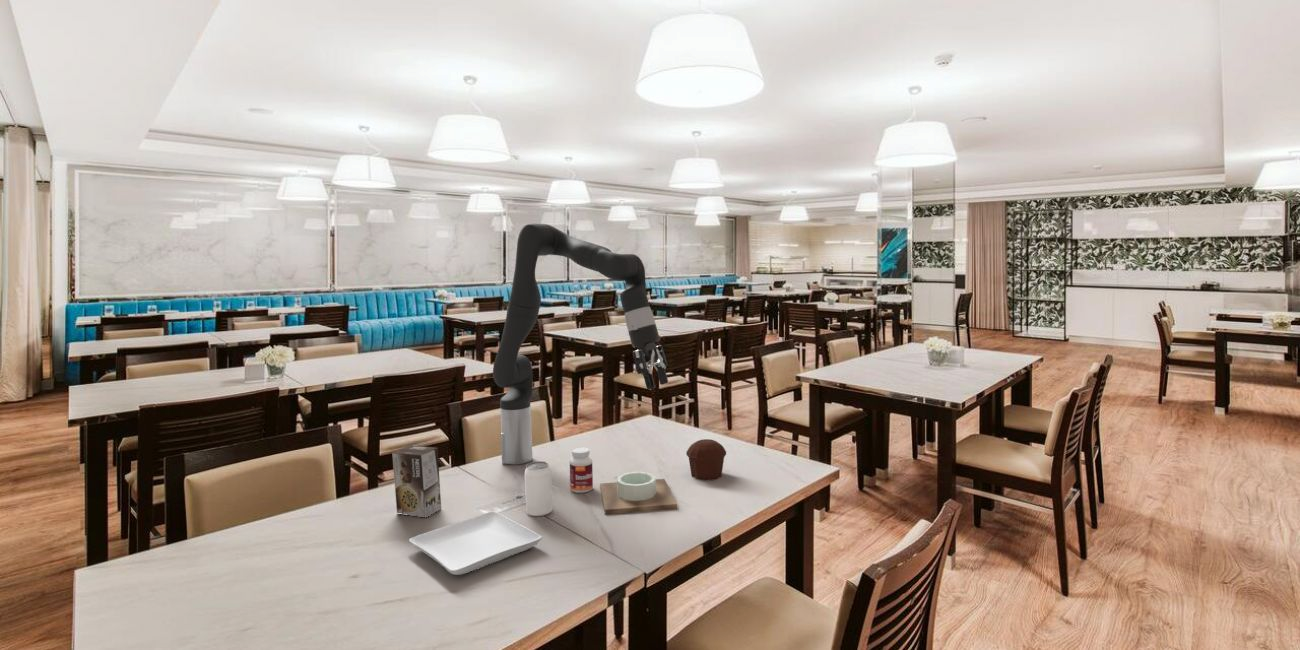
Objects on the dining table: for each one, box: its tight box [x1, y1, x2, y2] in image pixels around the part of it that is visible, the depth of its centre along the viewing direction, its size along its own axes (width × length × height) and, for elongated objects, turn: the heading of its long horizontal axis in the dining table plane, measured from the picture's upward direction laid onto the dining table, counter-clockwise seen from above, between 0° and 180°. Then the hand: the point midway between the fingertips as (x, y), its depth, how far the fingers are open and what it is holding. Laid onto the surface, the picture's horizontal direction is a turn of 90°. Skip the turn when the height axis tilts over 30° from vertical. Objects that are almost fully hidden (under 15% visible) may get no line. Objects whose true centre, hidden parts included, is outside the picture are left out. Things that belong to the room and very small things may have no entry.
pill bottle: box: [569, 447, 594, 494], centre depth 164 cm, size 6×6×11 cm
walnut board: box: [599, 478, 678, 515], centre depth 158 cm, size 18×18×1 cm
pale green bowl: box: [616, 471, 656, 501], centre depth 158 cm, size 10×10×4 cm
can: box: [524, 461, 553, 517], centre depth 150 cm, size 6×6×12 cm
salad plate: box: [408, 510, 543, 576], centre depth 131 cm, size 21×21×3 cm
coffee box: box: [391, 445, 442, 519], centre depth 151 cm, size 9×6×16 cm
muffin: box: [685, 439, 727, 481], centre depth 174 cm, size 12×11×10 cm
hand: (658, 386), depth 158 cm, fingers open, 8 cm apart
